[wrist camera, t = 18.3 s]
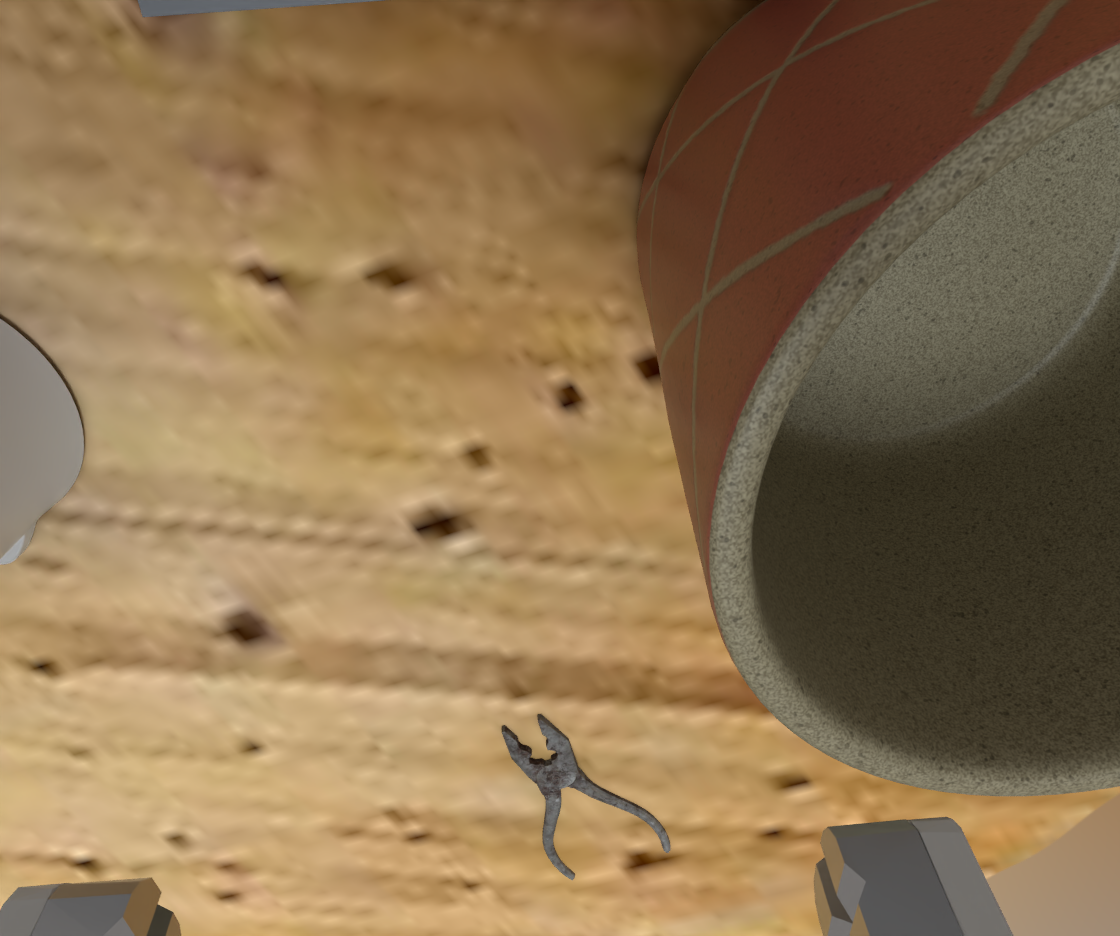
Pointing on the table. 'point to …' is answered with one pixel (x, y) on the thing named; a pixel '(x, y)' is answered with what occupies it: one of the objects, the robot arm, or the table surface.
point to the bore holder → (223, 5)
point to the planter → (904, 377)
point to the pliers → (566, 785)
